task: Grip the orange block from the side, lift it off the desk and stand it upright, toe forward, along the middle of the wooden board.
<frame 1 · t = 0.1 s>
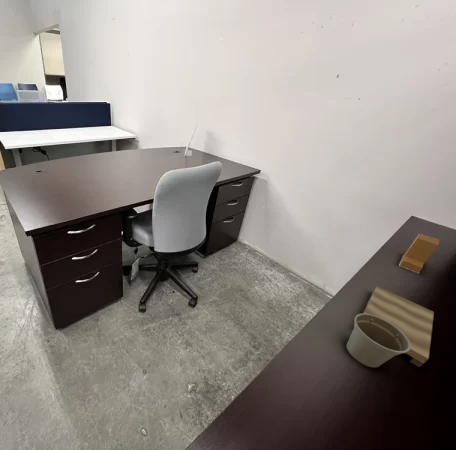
orange block: (410, 263, 89), on the table
wooden board: (390, 326, 63), on the table
flower pot: (361, 356, 55), on the table
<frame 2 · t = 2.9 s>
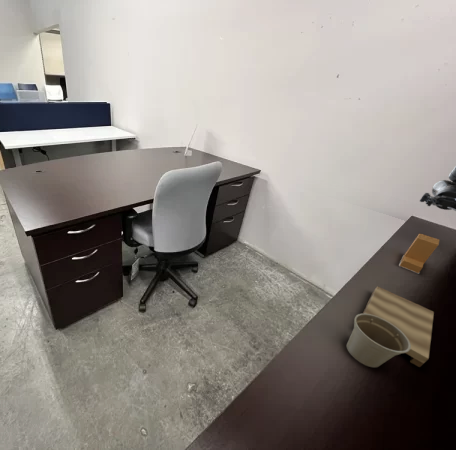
hand: (446, 207, 86), 20 cm above the table, tool horizontal, fingers open, 8 cm apart
nothing on the table moved.
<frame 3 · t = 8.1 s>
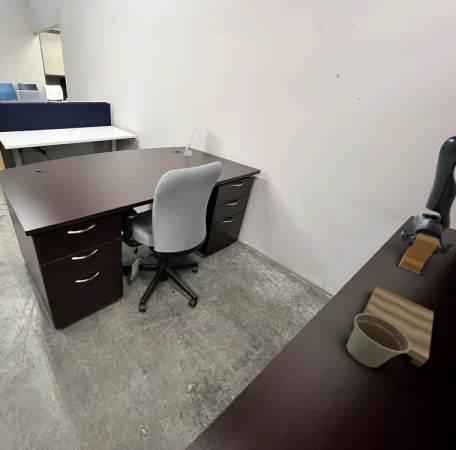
hand: (422, 248, 83), 8 cm above the table, tool horizontal, fingers closed on orange block, 5 cm apart
orange block: (410, 263, 89), on the table, touching gripper
everything else where it was.
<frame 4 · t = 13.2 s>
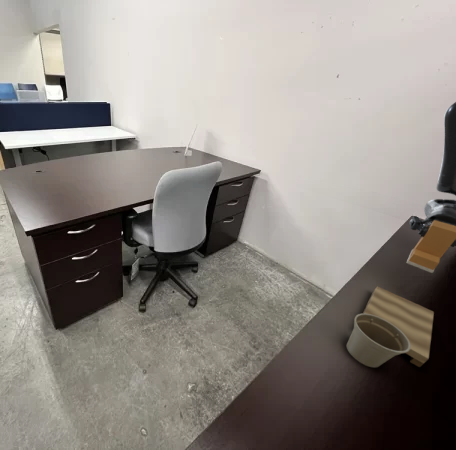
hand: (438, 238, 65), 20 cm above the table, tool horizontal, fingers closed on orange block, 5 cm apart
orange block: (422, 258, 70), point 12 cm above the table, touching gripper
everything else where it was.
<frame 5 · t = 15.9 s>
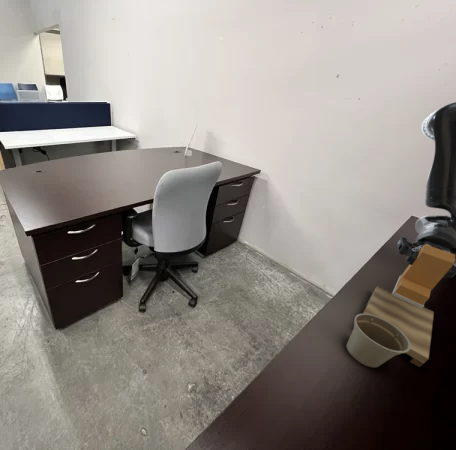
hand: (429, 267, 55), 19 cm above the table, tool horizontal, fingers closed on orange block, 5 cm apart
orange block: (410, 288, 61), point 11 cm above the table, touching gripper
everything else where it was.
when the fingers open (12 cm above the table, at t = 18.2 s): orange block stays where it is, resting on wooden board.
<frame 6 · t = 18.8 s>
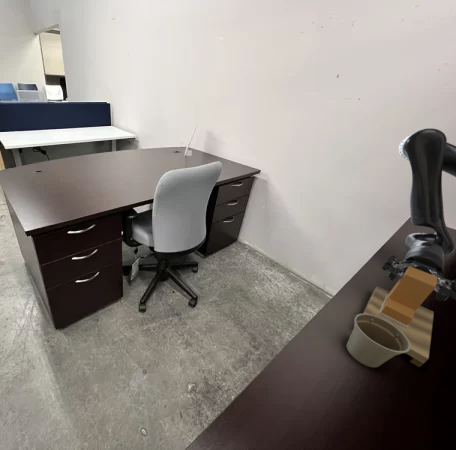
hand: (415, 287, 58), 13 cm above the table, tool horizontal, fingers open, 8 cm apart
orange block: (396, 307, 63), point 4 cm above the table, touching wooden board
everything else where it was.
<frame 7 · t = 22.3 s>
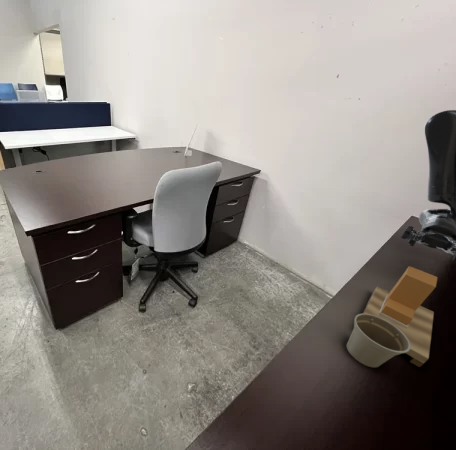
hand: (434, 250, 65), 17 cm above the table, tool horizontal, fingers open, 8 cm apart
nothing on the table moved.
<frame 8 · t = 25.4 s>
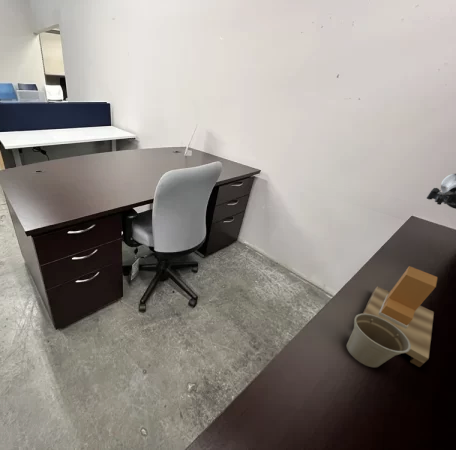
nothing on the table moved.
at the end: orange block inside the target area on the wooden board (2.1 cm from its centre), point 4.0 cm above the wooden board's base; orange block tilted 0°; the gripper is holding nothing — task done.
